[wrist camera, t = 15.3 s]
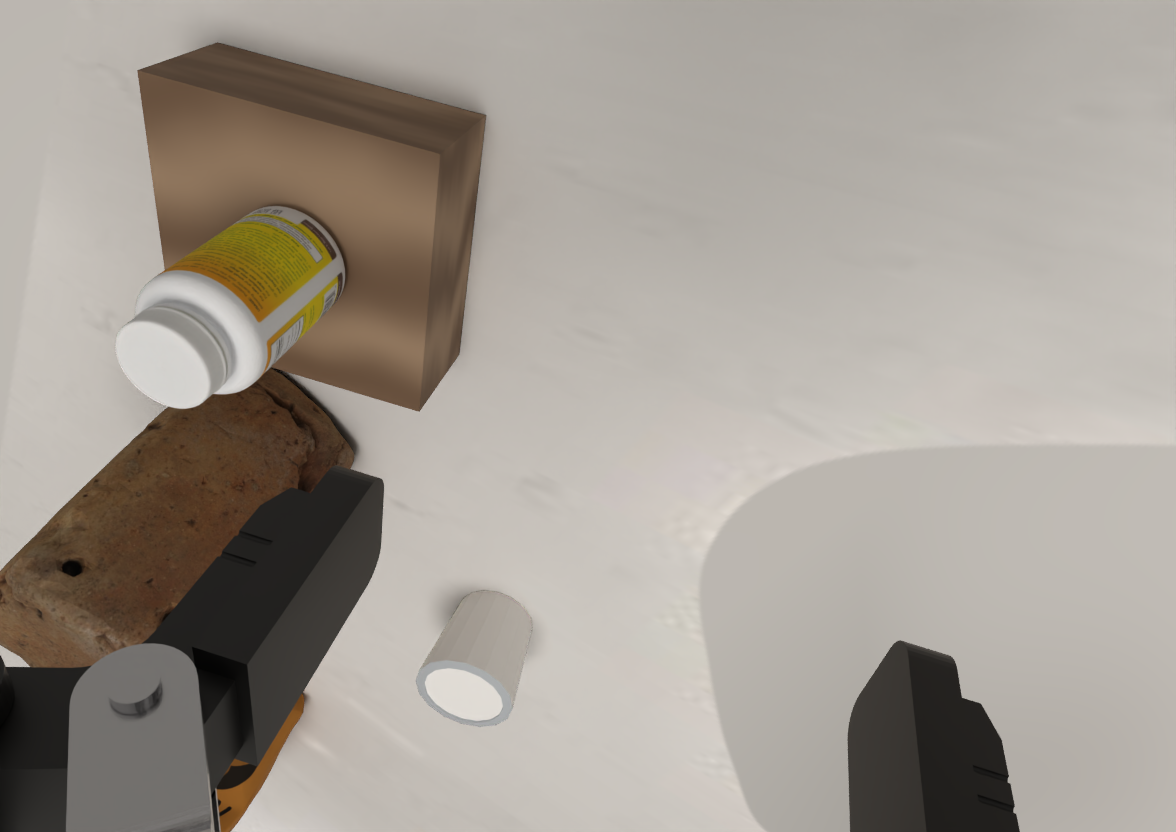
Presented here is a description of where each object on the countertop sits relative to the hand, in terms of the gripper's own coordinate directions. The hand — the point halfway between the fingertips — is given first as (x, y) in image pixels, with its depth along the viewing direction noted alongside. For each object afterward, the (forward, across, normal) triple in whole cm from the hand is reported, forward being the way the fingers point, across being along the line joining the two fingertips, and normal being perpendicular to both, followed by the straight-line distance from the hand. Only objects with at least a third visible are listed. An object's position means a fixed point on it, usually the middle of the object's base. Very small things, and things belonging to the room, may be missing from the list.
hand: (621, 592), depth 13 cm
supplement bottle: (+24, +19, +11) cm, 33 cm away
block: (+30, +23, +27) cm, 47 cm away
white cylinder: (+30, +7, +40) cm, 51 cm away
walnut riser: (+30, +19, +11) cm, 37 cm away
